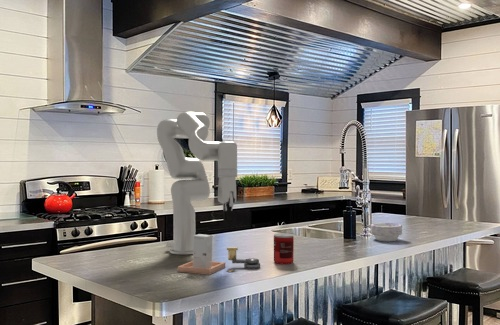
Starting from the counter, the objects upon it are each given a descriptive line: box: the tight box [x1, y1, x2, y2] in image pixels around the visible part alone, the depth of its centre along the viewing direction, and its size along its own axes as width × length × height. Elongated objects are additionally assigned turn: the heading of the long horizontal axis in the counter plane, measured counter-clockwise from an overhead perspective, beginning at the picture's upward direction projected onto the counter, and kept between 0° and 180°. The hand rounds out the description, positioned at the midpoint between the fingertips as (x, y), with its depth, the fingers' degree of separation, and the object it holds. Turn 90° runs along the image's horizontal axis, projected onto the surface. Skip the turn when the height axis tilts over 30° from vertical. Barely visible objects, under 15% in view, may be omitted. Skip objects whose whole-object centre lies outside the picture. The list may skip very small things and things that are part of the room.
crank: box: [226, 246, 260, 264], centre depth 191 cm, size 12×5×6 cm, turn 87°
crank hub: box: [243, 262, 261, 270], centre depth 190 cm, size 6×6×1 cm
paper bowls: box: [370, 222, 403, 242], centre depth 253 cm, size 15×15×8 cm
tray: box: [177, 260, 226, 275], centre depth 187 cm, size 13×13×2 cm
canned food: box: [273, 232, 295, 265], centre depth 199 cm, size 8×8×11 cm
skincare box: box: [192, 233, 213, 269], centre depth 187 cm, size 6×4×12 cm
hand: (227, 221), depth 196 cm, fingers closed
